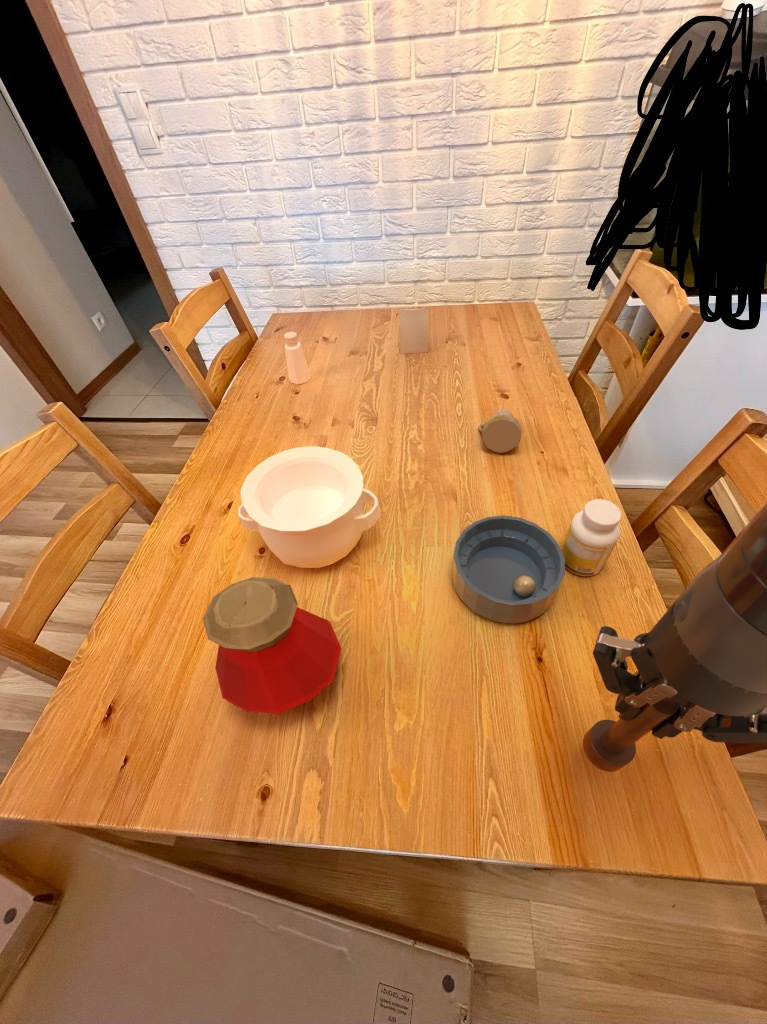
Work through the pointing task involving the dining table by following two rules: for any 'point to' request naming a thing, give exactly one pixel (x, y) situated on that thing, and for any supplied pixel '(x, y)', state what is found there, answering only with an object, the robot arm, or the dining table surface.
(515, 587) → the bead
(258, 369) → the dining table surface
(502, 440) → the mug
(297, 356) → the salt shaker
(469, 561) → the bowl
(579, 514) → the pill bottle
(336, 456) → the pot
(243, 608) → the red jar
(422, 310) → the grey rectangular block
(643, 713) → the masher
